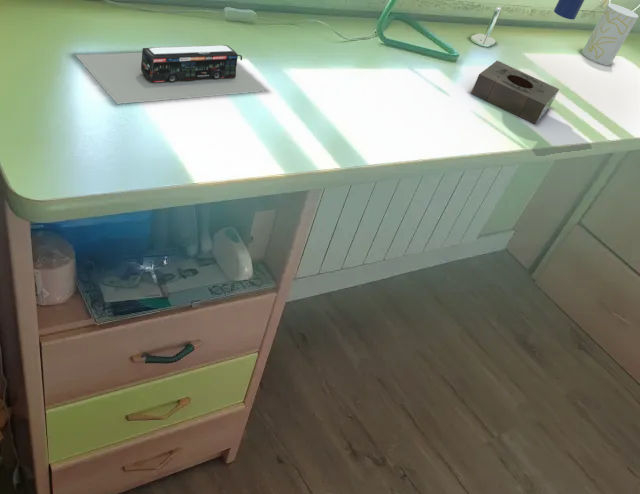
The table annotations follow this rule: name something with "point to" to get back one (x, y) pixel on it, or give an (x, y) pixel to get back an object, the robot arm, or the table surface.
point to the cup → (609, 34)
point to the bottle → (568, 8)
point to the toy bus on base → (170, 73)
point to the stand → (487, 31)
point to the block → (515, 91)
